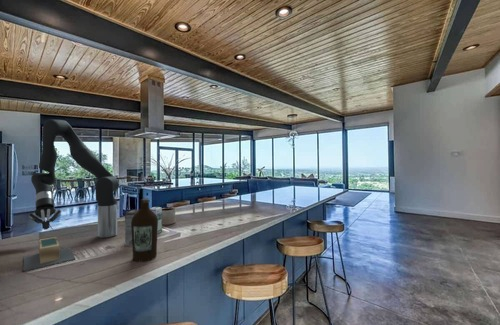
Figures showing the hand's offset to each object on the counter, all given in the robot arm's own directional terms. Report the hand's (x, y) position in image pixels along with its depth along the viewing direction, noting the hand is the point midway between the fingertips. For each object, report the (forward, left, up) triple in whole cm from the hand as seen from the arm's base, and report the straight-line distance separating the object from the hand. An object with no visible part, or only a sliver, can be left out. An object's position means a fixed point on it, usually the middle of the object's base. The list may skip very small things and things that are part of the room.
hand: (46, 228), depth 120 cm
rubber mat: (-8, +23, -8) cm, 26 cm away
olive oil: (-46, +38, -8) cm, 60 cm away
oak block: (-5, +14, -5) cm, 15 cm away
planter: (-59, -20, -8) cm, 63 cm away
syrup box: (-51, 0, -8) cm, 52 cm away
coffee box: (-41, +15, -8) cm, 45 cm away
